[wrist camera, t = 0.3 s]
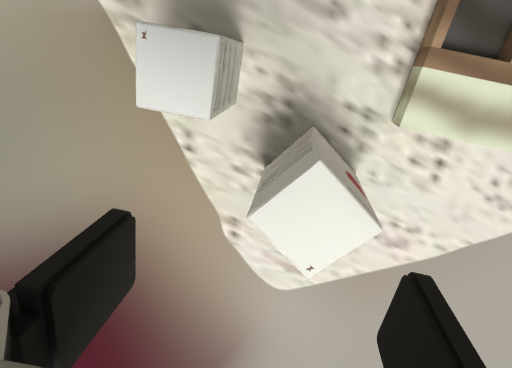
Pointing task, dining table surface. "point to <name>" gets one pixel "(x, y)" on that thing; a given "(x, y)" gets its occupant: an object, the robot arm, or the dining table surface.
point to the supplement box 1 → (185, 70)
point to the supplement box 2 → (312, 205)
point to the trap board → (463, 75)
